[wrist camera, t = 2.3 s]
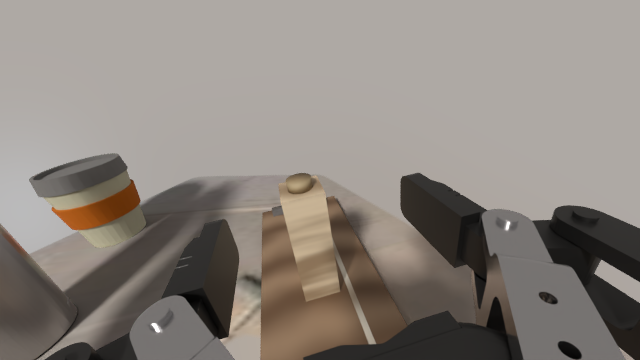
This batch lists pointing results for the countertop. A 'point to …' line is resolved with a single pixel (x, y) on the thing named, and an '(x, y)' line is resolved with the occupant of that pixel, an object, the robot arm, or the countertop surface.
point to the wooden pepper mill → (310, 234)
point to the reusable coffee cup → (94, 198)
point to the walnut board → (325, 312)
